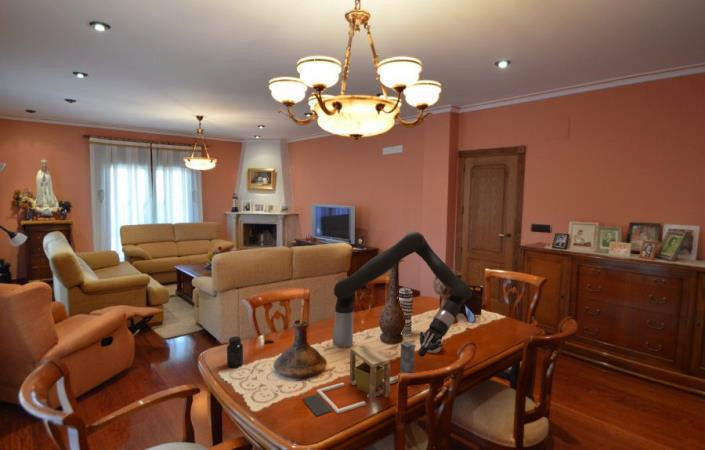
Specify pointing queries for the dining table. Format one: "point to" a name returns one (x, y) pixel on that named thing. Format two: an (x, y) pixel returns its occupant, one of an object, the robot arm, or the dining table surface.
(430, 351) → the ramekin
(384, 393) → the oak bridge
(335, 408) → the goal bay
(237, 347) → the supplement bottle
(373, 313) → the dining table surface
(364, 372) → the flower pot
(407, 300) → the striped vase
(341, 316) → the robot arm
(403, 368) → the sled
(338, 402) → the dining table surface
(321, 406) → the mat
